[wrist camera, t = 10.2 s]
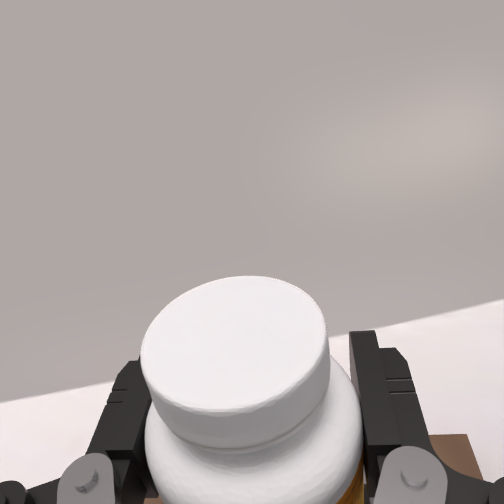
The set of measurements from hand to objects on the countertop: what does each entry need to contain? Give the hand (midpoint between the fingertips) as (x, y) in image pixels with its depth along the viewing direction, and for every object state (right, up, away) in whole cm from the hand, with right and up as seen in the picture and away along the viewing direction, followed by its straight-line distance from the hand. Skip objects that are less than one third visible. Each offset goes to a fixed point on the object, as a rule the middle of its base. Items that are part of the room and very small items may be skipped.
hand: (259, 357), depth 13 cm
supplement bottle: (+1, -7, +1) cm, 7 cm away
